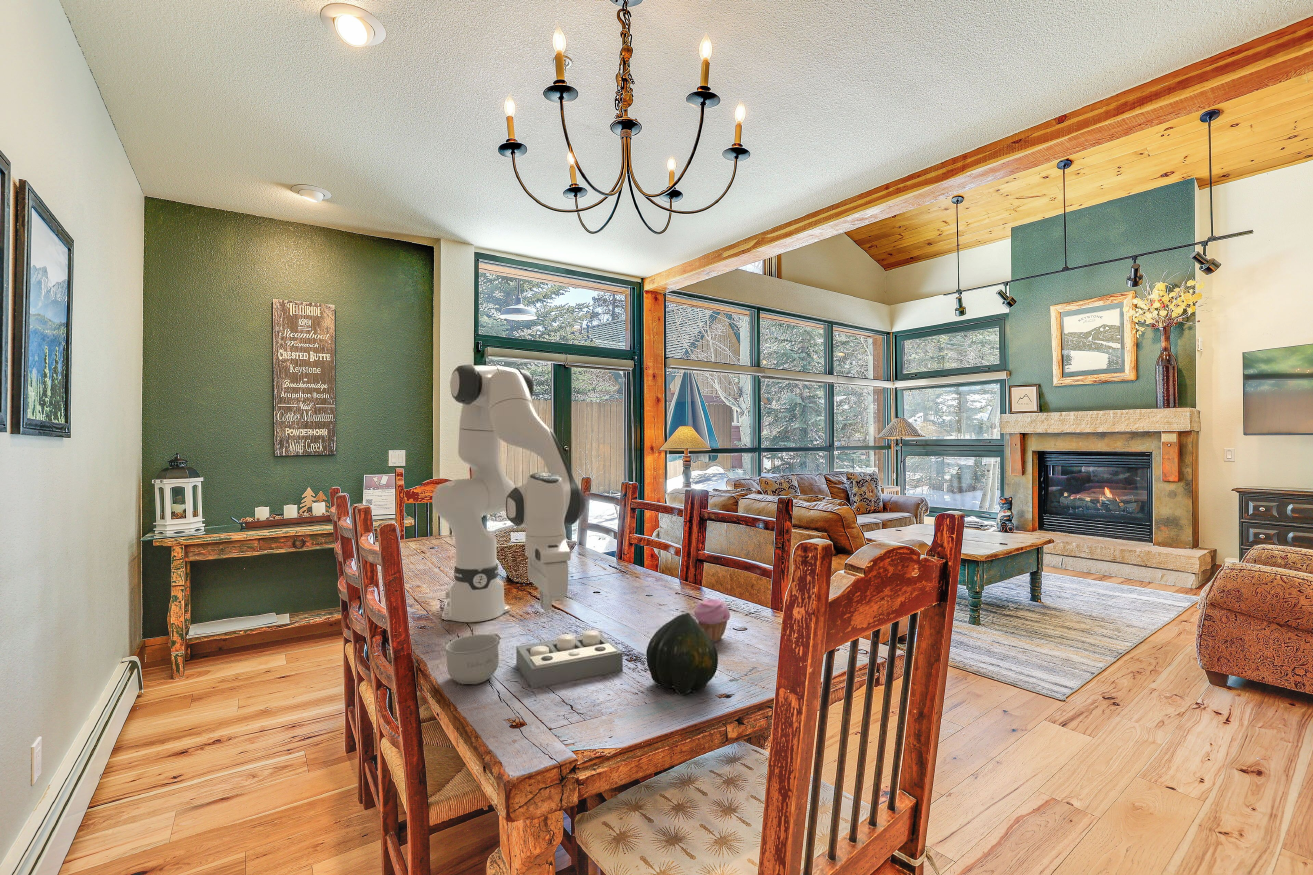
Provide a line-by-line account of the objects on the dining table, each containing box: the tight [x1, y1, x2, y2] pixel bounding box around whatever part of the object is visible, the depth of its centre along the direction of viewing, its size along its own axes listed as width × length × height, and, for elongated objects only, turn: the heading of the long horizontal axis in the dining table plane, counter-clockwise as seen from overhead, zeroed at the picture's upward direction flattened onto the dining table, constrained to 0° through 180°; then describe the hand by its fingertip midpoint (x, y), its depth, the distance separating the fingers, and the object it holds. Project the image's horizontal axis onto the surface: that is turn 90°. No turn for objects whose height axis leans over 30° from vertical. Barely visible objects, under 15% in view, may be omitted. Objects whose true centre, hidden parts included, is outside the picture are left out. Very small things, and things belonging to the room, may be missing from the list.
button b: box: [556, 633, 576, 652], centre depth 132 cm, size 4×4×3 cm
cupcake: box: [693, 598, 731, 643], centre depth 148 cm, size 9×9×10 cm
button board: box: [515, 632, 624, 690], centre depth 130 cm, size 14×20×4 cm
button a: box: [530, 646, 549, 657], centre depth 129 cm, size 4×4×3 cm
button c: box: [581, 629, 601, 647], centre depth 135 cm, size 4×4×3 cm
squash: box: [645, 612, 719, 696], centre depth 121 cm, size 14×15×15 cm
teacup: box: [444, 631, 501, 685], centre depth 126 cm, size 14×11×8 cm
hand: (545, 609), depth 130 cm, fingers closed
